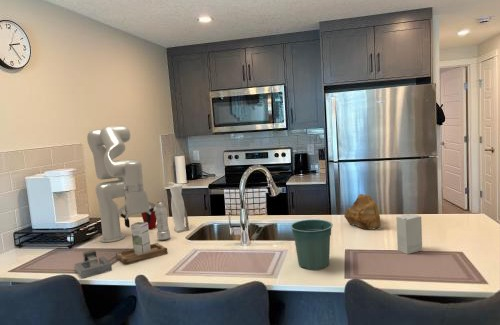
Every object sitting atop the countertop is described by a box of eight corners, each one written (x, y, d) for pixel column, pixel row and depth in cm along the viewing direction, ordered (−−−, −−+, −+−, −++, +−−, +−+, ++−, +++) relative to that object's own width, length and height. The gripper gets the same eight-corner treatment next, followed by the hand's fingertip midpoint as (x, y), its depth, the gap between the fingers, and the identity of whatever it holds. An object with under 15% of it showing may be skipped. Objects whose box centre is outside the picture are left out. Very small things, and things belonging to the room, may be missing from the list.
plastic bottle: (167, 241, 197) (164, 203, 195) (155, 241, 198) (151, 203, 196) (172, 237, 203) (169, 200, 201) (160, 237, 205) (157, 201, 203)
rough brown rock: (342, 221, 214) (339, 195, 212) (372, 217, 212) (369, 191, 210) (350, 235, 191) (346, 206, 189) (384, 230, 189) (380, 201, 187)
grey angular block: (83, 262, 173) (82, 252, 172) (95, 259, 176) (94, 250, 175) (88, 267, 166) (87, 257, 165) (100, 264, 168) (99, 254, 168)
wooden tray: (116, 258, 176) (115, 253, 176) (157, 247, 187) (157, 242, 187) (124, 265, 166) (124, 259, 166) (167, 253, 178) (167, 248, 177)
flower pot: (325, 275, 140) (323, 232, 139) (285, 268, 149) (283, 228, 147) (340, 260, 154) (338, 221, 153) (303, 255, 163) (300, 218, 161)
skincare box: (412, 247, 163) (411, 213, 162) (423, 251, 157) (422, 215, 156) (396, 250, 160) (395, 215, 159) (407, 254, 155) (406, 219, 153)
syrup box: (151, 252, 178) (148, 221, 177) (143, 256, 173) (140, 225, 172) (141, 251, 181) (138, 221, 179) (133, 255, 175) (130, 224, 174)
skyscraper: (175, 233, 212) (170, 183, 209) (171, 230, 219) (166, 181, 216) (189, 230, 215) (185, 181, 213) (185, 227, 223) (180, 180, 220)
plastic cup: (157, 229, 221) (155, 209, 220) (139, 231, 221) (137, 210, 220) (162, 225, 232) (160, 205, 231) (144, 226, 232) (142, 206, 231)
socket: (75, 270, 164) (74, 263, 164) (104, 263, 171) (103, 256, 171) (81, 278, 154) (80, 271, 154) (112, 270, 161) (111, 263, 161)
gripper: (118, 192, 166) (122, 230, 168) (156, 186, 176) (159, 222, 178) (113, 190, 172) (117, 227, 174) (150, 184, 182) (153, 219, 184)
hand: (138, 224), depth 176 cm, fingers open, 9 cm apart
